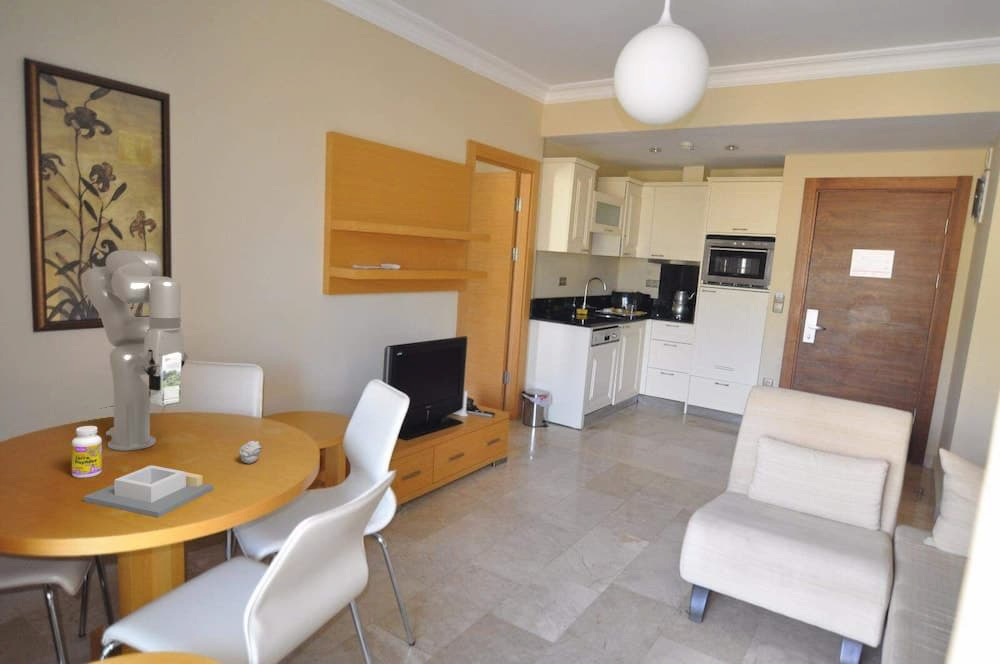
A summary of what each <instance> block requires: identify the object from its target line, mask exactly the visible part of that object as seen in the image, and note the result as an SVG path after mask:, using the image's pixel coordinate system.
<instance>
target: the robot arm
mask: <svg viewBox="0 0 1000 664" xmlns="http://www.w3.org/2000/svg"><path fill="white" fill-rule="evenodd" d="M86 271H87V270H86ZM161 271H162V262H161V259H160V258H159V256H158V254H156V253H155V252H152V251H147V250H129V249H120V250H114V251H112V252H110V253H109V254H108V255H107V257H106V258H105V266H97V267H93V268H90V269H89V270H88V271H87V272H85V274H84V279H83V281H84V282H83V283H84V289H85V293H86V294H87V298H88V300H89V301H90V303H91V304H92V306H93V307H94V308H95V309H96V311H97V313H98V314H99V316H100V319H101V322H102V325H103V328H104V332H105V334H106V337H107V340H108V342H109V343H110V345H111V346H113V347H114V348H113V349H112V350H111V352H110V354H109V365H110V368H111V375H112V383H113V384H112V385H113V386H112V387H113V426H112V427H110V428H109V430H107V431H106V432H105V435H106V436H109V437H111V439H110V440H109V441H108V442H107V448H109V449H111V450H114V451H123V452H124V451H125V452H126V451H136V450H142V449H147V448H149V447H152V446H154V445H155V444H156V438H155V437H154V436H152V435H151V403H149V389H150V390H157V391H158V390H160V376H158V375H159V372H160V366H161V365H162V358H163V356H164V355H169V354H174V353H181V372H182V371H183V367H184V365H185V363H186V361H187V360H188V358H189V355H188V354H187V353H186V352H185V346H184V336H183V335H184V334H183V330H182V327H181V322H182V318H181V295H182V294H181V291H182V290H181V282H180V281H179V280H178V279H173V278H171V277H170V276H169V277H168V276H162V275H161V276H160V274H161ZM128 303H129V304H140V303H141V304H142V303H144V304H146V303H147V304H148V316H135V315H134V314H133V312H132V309H131V307H130V305H129V304H128ZM154 362H155V364H154ZM149 364H150V365H149ZM154 367H156V368H155V370H154ZM145 375H147V376H148V383H147V382H146V381H145V380H144V379H143V378H142V376H145Z"/></svg>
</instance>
